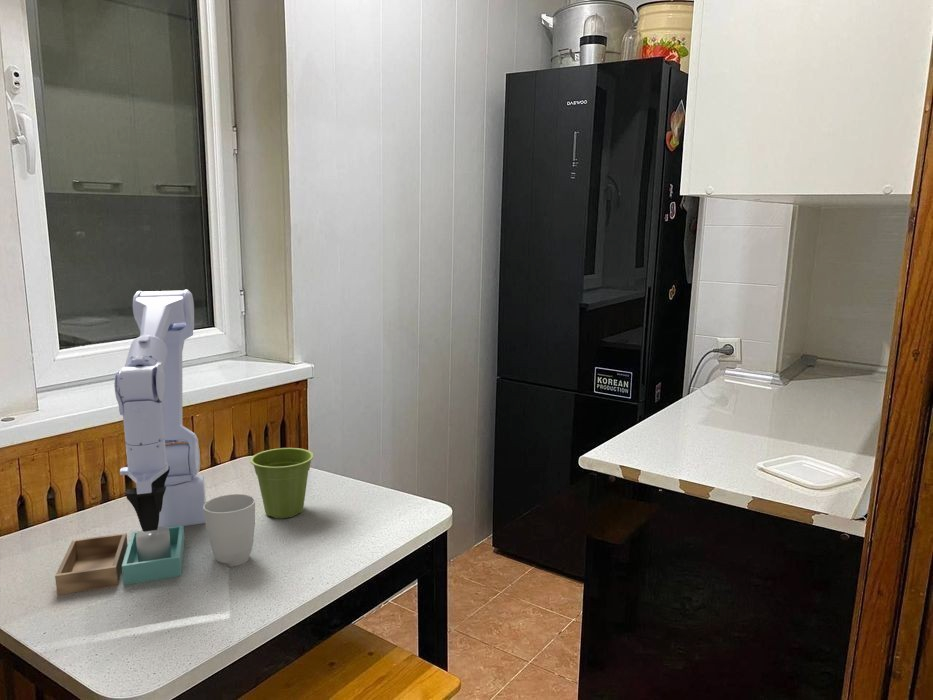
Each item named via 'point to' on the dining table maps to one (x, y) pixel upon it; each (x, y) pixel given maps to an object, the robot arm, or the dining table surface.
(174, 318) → the robot arm
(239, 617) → the dining table surface
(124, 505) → the dining table surface
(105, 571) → the walnut bin
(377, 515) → the dining table surface
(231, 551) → the cup
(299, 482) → the plant pot
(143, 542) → the white rounded cube
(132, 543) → the teal bin
